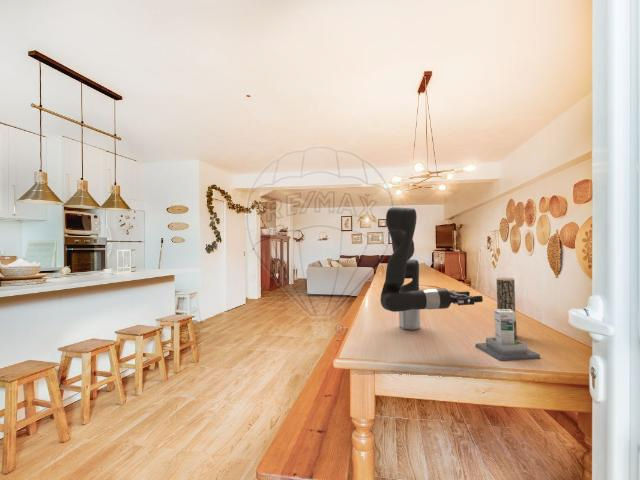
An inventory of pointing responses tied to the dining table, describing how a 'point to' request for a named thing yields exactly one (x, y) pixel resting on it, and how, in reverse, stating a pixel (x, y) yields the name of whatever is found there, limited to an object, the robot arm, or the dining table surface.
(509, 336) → the syrup box
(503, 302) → the bark pattern cylinder
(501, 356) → the duct collar
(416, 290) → the robot arm
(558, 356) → the dining table surface
